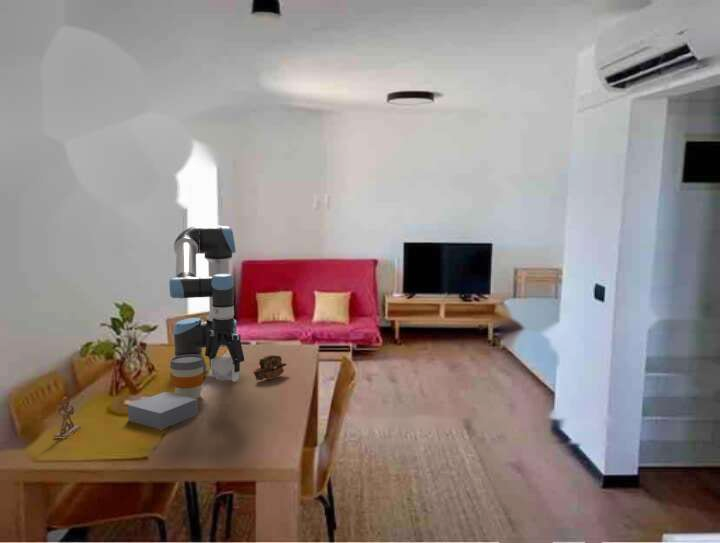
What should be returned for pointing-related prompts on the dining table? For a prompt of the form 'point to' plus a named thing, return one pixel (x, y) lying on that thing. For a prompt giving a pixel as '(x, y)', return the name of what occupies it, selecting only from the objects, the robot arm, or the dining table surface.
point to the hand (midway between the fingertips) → (224, 378)
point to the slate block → (162, 410)
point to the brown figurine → (71, 427)
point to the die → (223, 368)
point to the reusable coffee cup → (187, 375)
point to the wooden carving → (269, 367)
